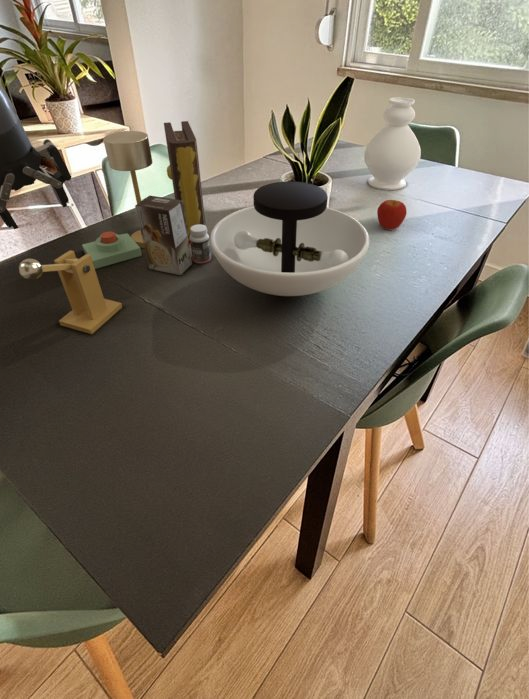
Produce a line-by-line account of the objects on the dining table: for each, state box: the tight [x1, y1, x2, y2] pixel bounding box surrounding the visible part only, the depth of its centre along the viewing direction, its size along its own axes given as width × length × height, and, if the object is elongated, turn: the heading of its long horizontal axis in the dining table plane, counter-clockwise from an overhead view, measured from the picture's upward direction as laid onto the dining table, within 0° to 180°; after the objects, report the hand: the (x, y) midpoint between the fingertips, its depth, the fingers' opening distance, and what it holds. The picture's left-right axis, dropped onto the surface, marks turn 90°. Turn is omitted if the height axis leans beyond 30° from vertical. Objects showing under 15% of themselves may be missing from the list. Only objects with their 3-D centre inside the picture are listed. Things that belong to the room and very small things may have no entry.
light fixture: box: [209, 181, 370, 297], centre depth 91 cm, size 33×33×21 cm
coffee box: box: [134, 195, 193, 276], centre depth 99 cm, size 9×6×16 cm
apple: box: [376, 199, 407, 231], centre depth 117 cm, size 8×8×8 cm
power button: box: [99, 231, 117, 244], centre depth 107 cm, size 4×4×2 cm
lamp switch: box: [18, 257, 79, 281], centre depth 77 cm, size 13×4×4 cm, turn 157°
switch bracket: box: [53, 250, 123, 335], centre depth 85 cm, size 10×8×14 cm
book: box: [163, 120, 206, 245], centre depth 114 cm, size 22×8×25 cm, turn 14°
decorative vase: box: [363, 96, 422, 191], centre depth 137 cm, size 18×18×25 cm
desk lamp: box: [102, 130, 153, 249], centre depth 106 cm, size 10×10×26 cm
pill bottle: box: [189, 224, 212, 264], centre depth 105 cm, size 5×5×8 cm
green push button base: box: [81, 232, 143, 270], centre depth 108 cm, size 12×10×4 cm
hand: (39, 215), depth 71 cm, fingers open, 8 cm apart
